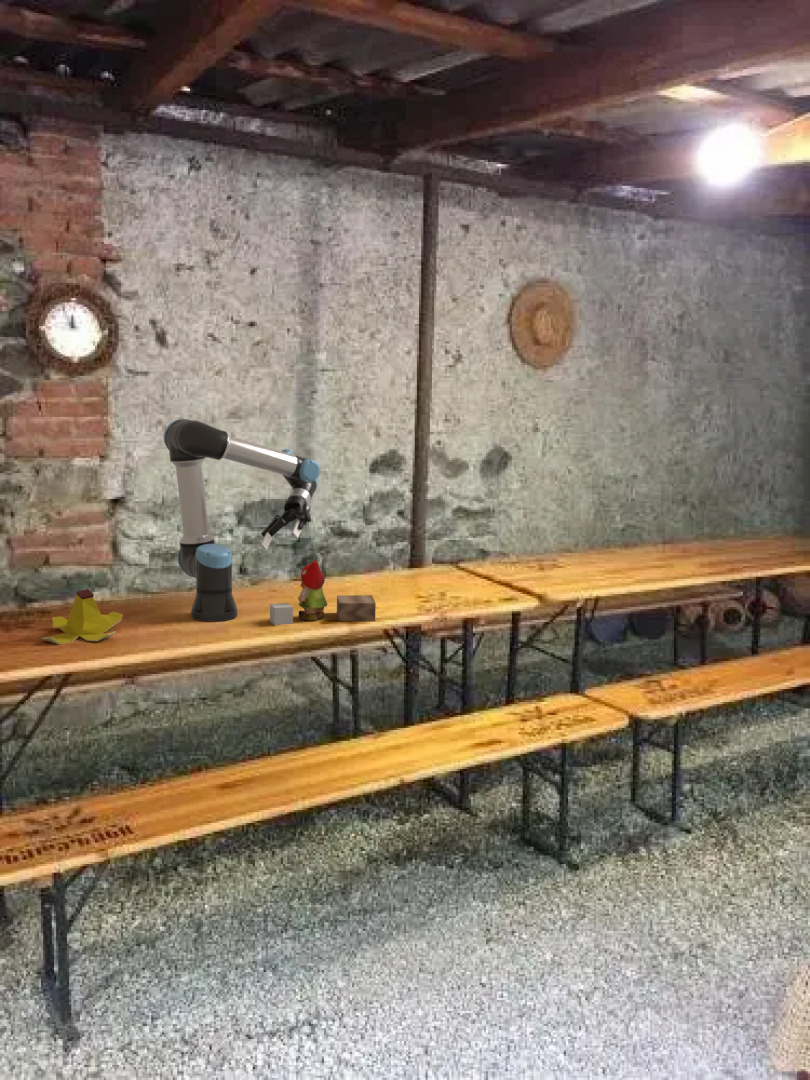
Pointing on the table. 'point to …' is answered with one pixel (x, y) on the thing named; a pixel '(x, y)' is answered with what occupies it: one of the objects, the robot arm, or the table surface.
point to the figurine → (312, 593)
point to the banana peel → (84, 621)
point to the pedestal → (356, 608)
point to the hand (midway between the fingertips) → (278, 541)
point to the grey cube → (281, 613)
